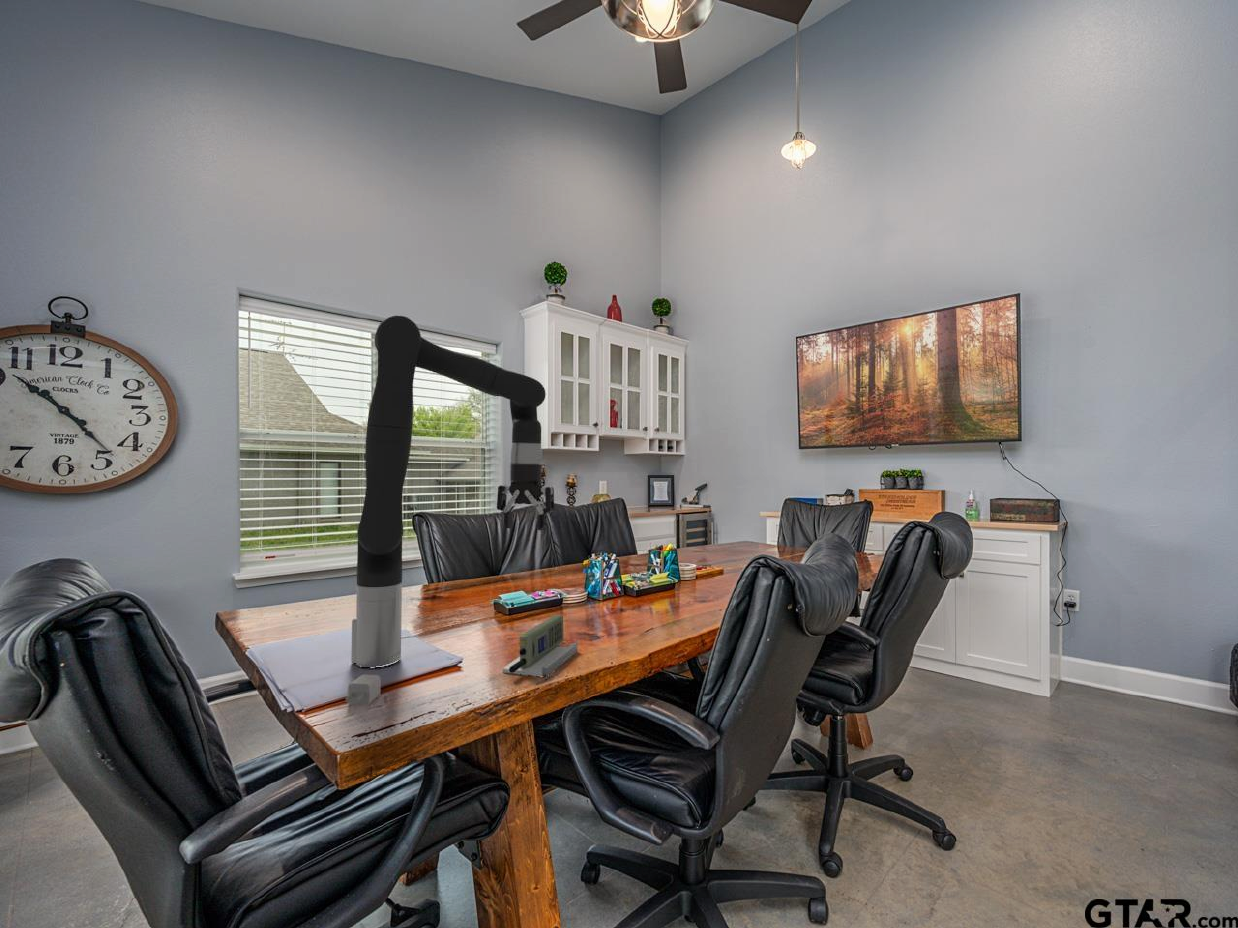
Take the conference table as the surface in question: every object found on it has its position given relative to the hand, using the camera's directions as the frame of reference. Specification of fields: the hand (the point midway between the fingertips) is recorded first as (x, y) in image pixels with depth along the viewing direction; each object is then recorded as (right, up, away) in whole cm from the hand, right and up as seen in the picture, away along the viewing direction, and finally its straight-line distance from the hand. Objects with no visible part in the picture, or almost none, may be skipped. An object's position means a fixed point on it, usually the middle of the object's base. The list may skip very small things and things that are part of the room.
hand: (525, 529), depth 142 cm
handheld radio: (+5, -27, -12) cm, 30 cm away
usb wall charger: (-24, -28, -36) cm, 51 cm away
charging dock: (+6, -28, -12) cm, 31 cm away
